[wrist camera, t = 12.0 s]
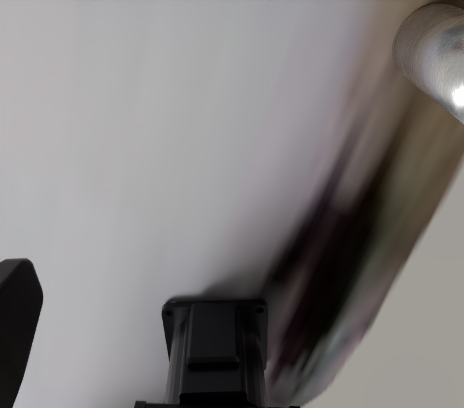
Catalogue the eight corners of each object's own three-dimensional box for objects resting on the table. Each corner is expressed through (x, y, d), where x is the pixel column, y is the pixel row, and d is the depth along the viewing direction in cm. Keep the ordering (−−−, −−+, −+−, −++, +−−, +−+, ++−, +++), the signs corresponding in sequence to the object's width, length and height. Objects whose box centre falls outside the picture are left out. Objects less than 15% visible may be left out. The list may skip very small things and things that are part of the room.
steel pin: (457, 79, 19) (540, 132, 14) (386, 81, 19) (444, 135, 14) (477, 2, 18) (580, 31, 13) (399, 4, 18) (471, 34, 13)
